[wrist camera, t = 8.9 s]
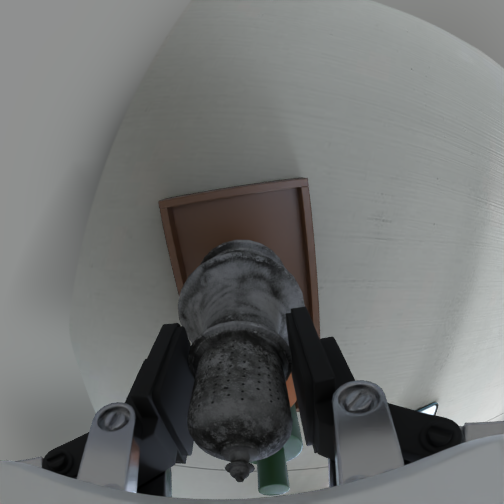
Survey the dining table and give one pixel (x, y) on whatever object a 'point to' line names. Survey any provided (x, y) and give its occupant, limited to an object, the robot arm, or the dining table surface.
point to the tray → (246, 229)
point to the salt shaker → (239, 353)
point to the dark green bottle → (279, 463)
